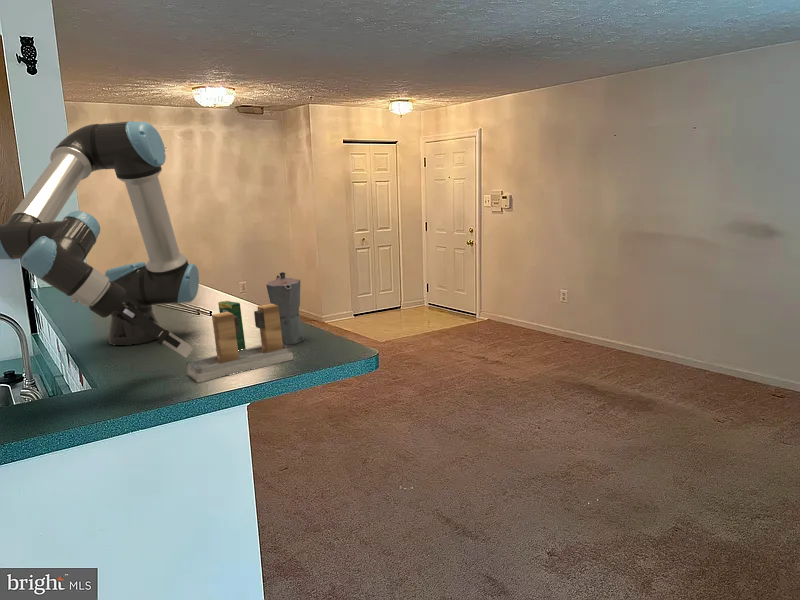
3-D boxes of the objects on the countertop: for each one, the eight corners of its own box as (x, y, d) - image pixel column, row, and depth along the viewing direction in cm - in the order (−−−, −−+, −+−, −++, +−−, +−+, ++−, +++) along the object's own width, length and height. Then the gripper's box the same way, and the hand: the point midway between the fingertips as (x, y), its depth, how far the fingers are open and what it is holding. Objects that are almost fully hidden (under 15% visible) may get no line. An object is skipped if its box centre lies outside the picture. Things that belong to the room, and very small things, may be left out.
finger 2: (258, 353, 149) (252, 307, 146) (277, 348, 152) (272, 303, 149) (264, 356, 145) (258, 309, 143) (283, 351, 148) (278, 305, 146)
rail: (188, 374, 141) (186, 362, 140) (280, 353, 154) (278, 341, 154) (197, 382, 135) (196, 369, 134) (293, 359, 148) (291, 347, 147)
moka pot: (279, 350, 158) (271, 277, 154) (264, 338, 171) (257, 271, 167) (313, 343, 162) (306, 272, 158) (296, 332, 175) (289, 266, 171)
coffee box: (223, 346, 165) (217, 301, 162) (232, 344, 166) (226, 299, 164) (236, 351, 159) (231, 304, 156) (246, 349, 161) (240, 302, 158)
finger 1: (217, 362, 143) (211, 314, 140) (238, 357, 146) (232, 310, 143) (223, 365, 140) (217, 317, 137) (244, 360, 143) (238, 313, 140)
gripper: (79, 300, 133) (157, 349, 144) (97, 317, 113) (186, 372, 124) (100, 274, 135) (176, 324, 146) (122, 285, 115) (208, 343, 126)
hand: (181, 346), depth 135 cm, fingers open, 13 cm apart
